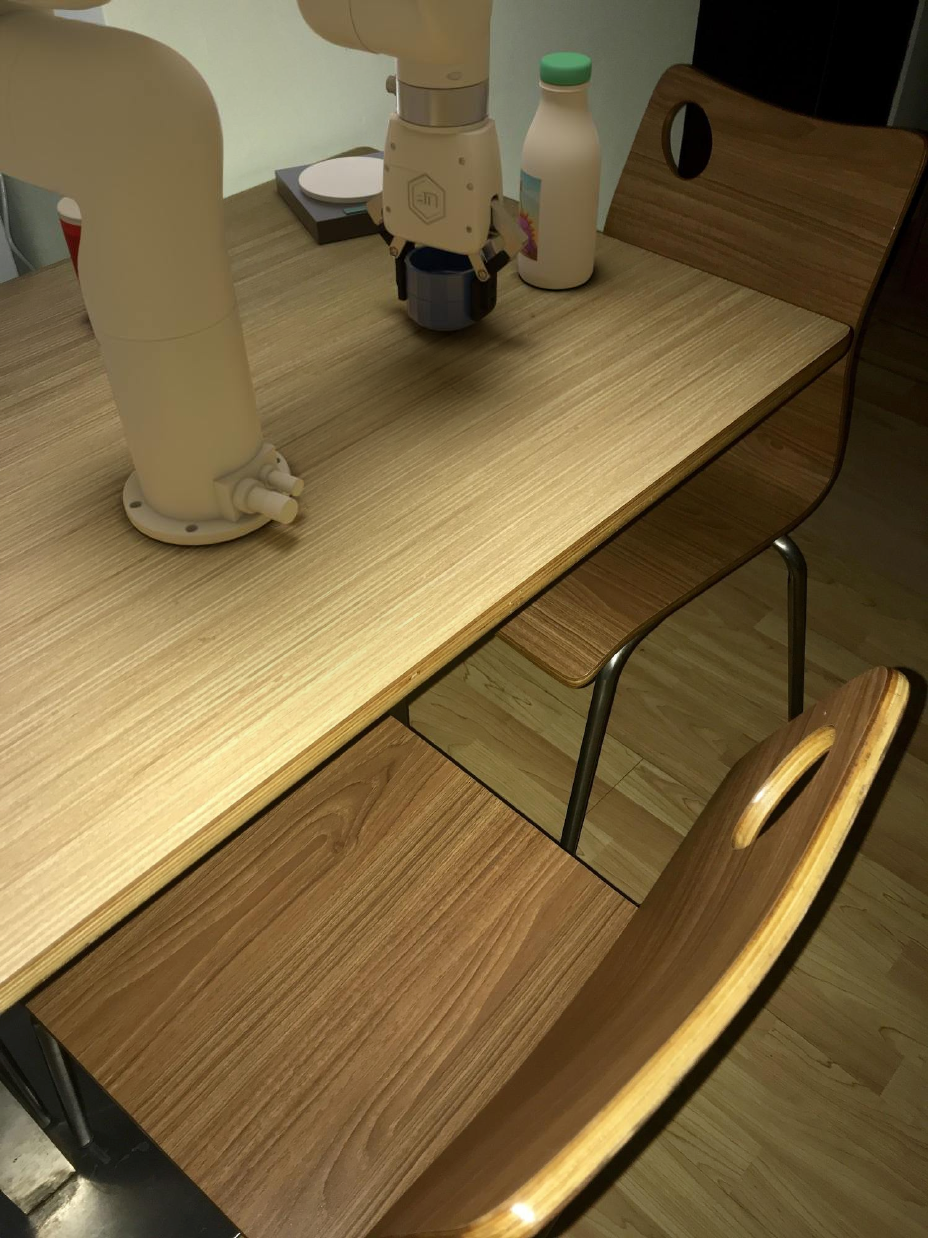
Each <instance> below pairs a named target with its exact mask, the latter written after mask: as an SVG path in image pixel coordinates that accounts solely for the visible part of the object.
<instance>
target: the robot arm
mask: <svg viewBox="0 0 928 1238" xmlns="http://www.w3.org/2000/svg"><path fill="white" fill-rule="evenodd" d="M113 1H114V0H0V173H1V174H3V175H5V176H8V177H10V178H12V179H15V180H18V181H21V182H23V183H26V184H30V185H33V186H35V187H39V188H41V189H45V190H46V191H47V190H48V191H51V192H53V193H56V194H58V195H61V196H63V197H68V198H71V199H73V200H74V201H75V202H76V203H77V205H78V207H79V210H80V214H81V223H82V224H81V238H80V245H79V251H78V275H79V282H80V285H79V288H80V287H81V288H80V291H81V295H82V299H83V302H84V306H85V309H86V313H87V316H88V319H89V321H90V324H91V328H92V331H93V334H94V337H95V341H96V343H97V344H96V345H97V347H98V350H99V351H98V352H99V353H100V357H101V361H102V364H103V367H104V370H105V373H106V376H107V380H108V382H109V387H110V390H111V393H112V397H113V401H114V403H115V406H116V409H117V412H118V417H119V419H120V422H121V426H122V429H123V433H124V436H125V439H126V442H127V446H128V449H129V453H130V456H131V460H132V463H133V465H134V466H133V467H134V469H133V471H132V472H131V473H130V475H129V476H128V478H127V479H126V481H125V483H124V486H123V490H122V504H123V507H124V510H125V513H126V516H127V518H128V519H129V521H130V523H131V524H132V525H133V526H134V527H135V528H136V529H137V530H138V531H139V532H141V533H143V534H144V535H146V536H148V537H150V538H151V539H154V540H158V541H160V542H163V543H168V544H175V545H180V546H181V545H182V546H203V545H213V544H219V543H223V542H226V541H231V540H234V539H237V538H240V537H243V536H245V535H248V534H250V533H252V532H253V531H256V530H258V529H260V528H262V527H263V526H264V525H266V524H267V523H268V522H270V521H272V520H273V521H275V522H278V523H280V524H283V525H289V524H290V523H292V522H293V521H294V520H295V518H296V516H297V515H298V510H299V503H298V501H297V499H295V498H296V497H299V496H300V495H301V494H302V493H303V490H304V487H305V483H304V479H301V478H299V477H296V476H294V475H291V469H290V466H289V464H288V462H287V460H286V459H285V457H284V456H283V455H282V453H280V452H279V451H277V450H276V448H275V445H274V444H271V443H269V442H266V441H264V438H263V432H262V427H261V422H260V416H259V409H258V405H257V401H256V400H257V399H256V394H255V390H254V384H253V380H252V372H251V368H250V363H249V362H250V361H249V356H248V352H247V347H246V342H245V337H244V336H245V335H244V331H243V326H242V320H241V315H240V310H239V304H238V299H237V294H236V288H235V283H234V277H233V272H232V265H231V260H230V254H229V248H228V247H229V246H228V242H227V241H228V239H227V233H226V225H225V212H224V211H225V210H224V159H225V157H224V155H225V154H224V153H225V152H224V149H225V148H224V147H225V146H224V131H223V123H222V118H221V113H220V109H219V105H218V103H217V100H216V97H215V96H214V93H213V91H212V89H211V87H210V85H209V84H208V82H207V81H206V79H205V77H204V76H203V75H202V74H201V72H200V71H199V70H198V69H197V68H196V67H195V65H194V64H193V63H192V62H190V61H189V59H188V58H186V57H185V56H184V55H182V54H181V53H180V52H179V51H177V50H176V49H174V48H173V47H171V46H169V45H167V44H165V43H163V42H162V41H160V40H157V39H155V38H153V37H150V36H149V35H145V34H142V33H140V32H136V31H134V30H129V29H124V28H120V27H116V26H111V25H107V24H102V23H97V22H93V21H88V20H85V19H76V18H67V17H62V16H58V15H57V13H56V11H55V10H60V11H85V10H90V9H95V8H99V7H102V6H105V5H108V4H109V3H111V2H113ZM295 2H296V6H297V9H298V11H299V13H300V16H301V17H302V19H303V21H304V23H305V24H306V25H307V26H308V28H309V29H310V30H311V31H312V32H313V33H314V34H315V35H316V36H318V37H319V38H320V39H322V40H323V41H325V42H327V43H329V44H331V45H334V46H337V47H340V48H343V49H348V50H353V51H358V52H363V53H367V54H368V53H369V54H373V55H378V56H379V55H381V56H386V57H392V58H394V65H395V73H394V75H391V74H390V75H388V76H387V78H386V80H385V90H386V92H387V93H388V94H391V95H394V96H395V102H396V103H395V104H396V105H395V106H396V111H394V112H392V113H390V114H389V117H388V122H387V127H386V134H385V140H384V149H383V151H384V160H383V190H382V191H381V192H380V193H378V194H377V195H376V196H375V197H373V198H372V199H371V200H369V201H368V202H367V203H366V210H367V211H368V213H369V215H370V216H371V218H372V220H373V221H374V223H375V224H377V226H378V227H377V229H378V232H379V233H378V234H379V235H380V237H381V238H382V239H383V241H384V242H385V243H386V245H387V246H388V254H389V256H390V257H391V258H393V259H394V267H395V269H394V270H395V284H396V287H397V299H398V300H399V301H401V302H406V280H405V258H406V255H407V253H408V252H410V251H411V250H413V249H414V248H416V244H419V245H421V246H422V245H426V246H430V247H434V248H438V249H442V250H446V251H450V252H454V253H458V254H464V255H468V257H469V259H470V262H471V264H472V266H473V268H474V271H475V273H476V275H477V276H476V277H475V278H474V279H472V281H471V319H472V320H473V321H475V323H479V322H481V321H482V320H483V319H484V318H486V317H487V316H488V315H489V314H491V313H492V312H493V311H494V309H495V308H496V306H497V302H498V301H497V300H498V273H499V272H500V271H501V270H503V268H505V267H506V266H507V265H508V264H509V263H511V262H512V261H513V260H514V259H515V258H516V257H517V256H518V253H519V252H520V251H521V250H522V249H523V248H524V247H525V246H526V244H527V243H528V242H529V238H528V236H527V234H526V233H525V232H524V231H523V229H522V228H521V227H520V226H519V223H518V222H517V221H516V219H514V218H513V216H512V215H511V214H510V212H508V210H506V208H505V207H504V187H503V183H504V182H503V169H502V157H501V150H500V149H501V147H500V141H499V136H498V131H497V127H496V122H495V121H496V120H494V119H492V118H490V70H491V69H490V64H491V63H490V61H491V59H490V58H491V19H492V15H493V4H494V0H295ZM500 236H501V237H502V239H503V240H504V245H503V246H502V247H501V249H500V250H499V249H498V247H497V245H496V243H495V240H494V239H497V238H498V237H500ZM484 256H485V257H484ZM79 282H78V283H79ZM291 496H293V497H295V498H293V497H291Z"/></svg>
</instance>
